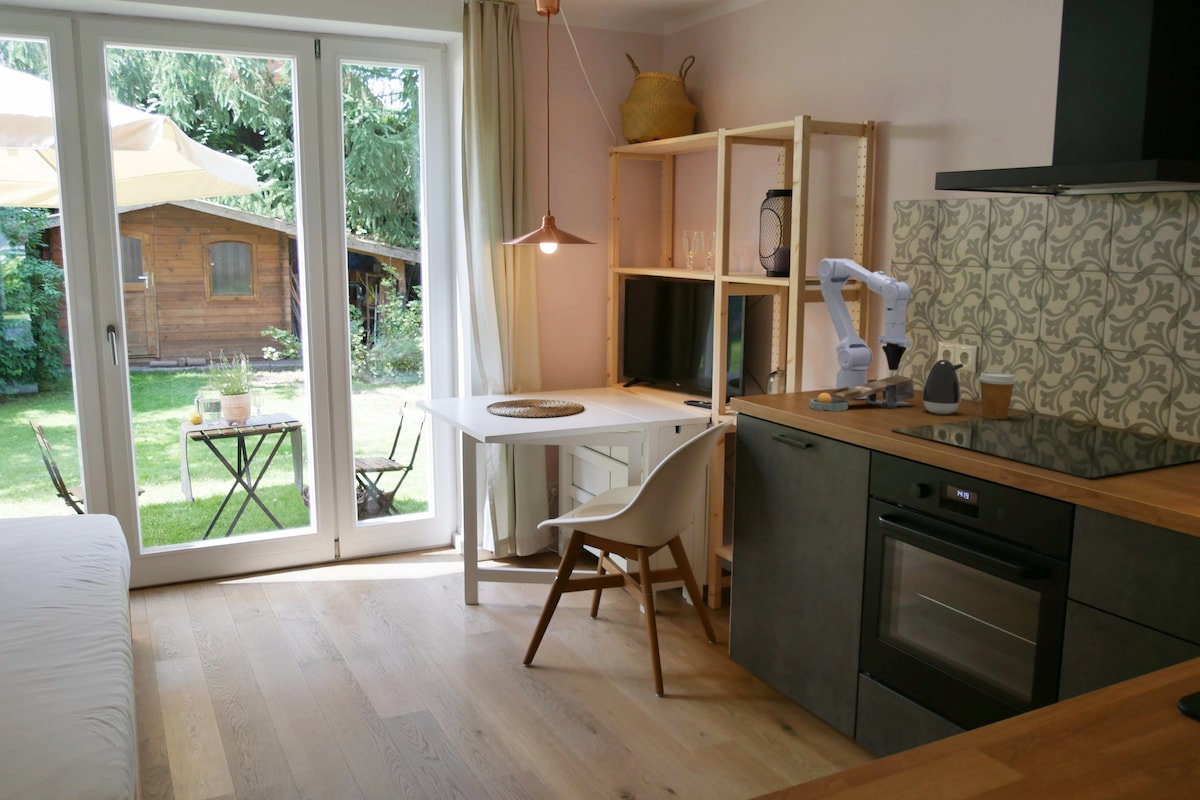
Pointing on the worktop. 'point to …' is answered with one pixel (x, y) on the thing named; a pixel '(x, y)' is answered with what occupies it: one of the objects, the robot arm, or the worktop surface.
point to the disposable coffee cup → (996, 394)
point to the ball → (824, 398)
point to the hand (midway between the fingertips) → (893, 369)
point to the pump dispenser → (942, 388)
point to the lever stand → (889, 397)
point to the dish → (829, 405)
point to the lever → (878, 389)
